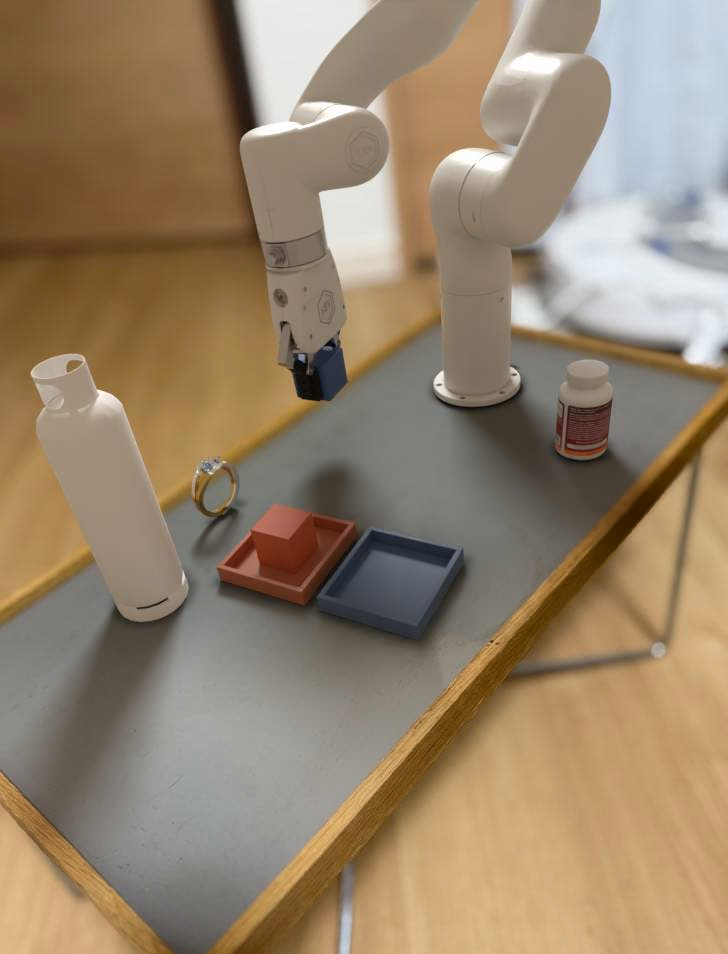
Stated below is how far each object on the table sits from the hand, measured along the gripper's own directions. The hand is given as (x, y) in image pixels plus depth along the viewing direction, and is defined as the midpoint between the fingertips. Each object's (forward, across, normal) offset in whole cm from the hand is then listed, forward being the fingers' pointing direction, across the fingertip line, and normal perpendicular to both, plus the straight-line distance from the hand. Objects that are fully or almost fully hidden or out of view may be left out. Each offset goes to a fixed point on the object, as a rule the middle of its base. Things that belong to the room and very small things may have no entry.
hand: (322, 386), depth 92 cm
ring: (+9, -18, +6) cm, 21 cm away
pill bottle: (+10, +8, -31) cm, 34 cm away
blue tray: (+9, -23, -20) cm, 32 cm away
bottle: (+8, -34, +5) cm, 35 cm away
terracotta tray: (+8, -23, -7) cm, 25 cm away
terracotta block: (+8, -23, -7) cm, 25 cm away
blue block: (0, 0, 0) cm, 0 cm away
